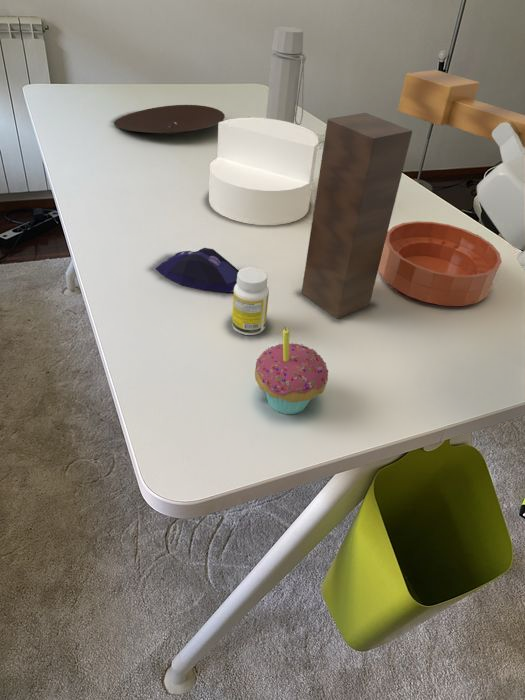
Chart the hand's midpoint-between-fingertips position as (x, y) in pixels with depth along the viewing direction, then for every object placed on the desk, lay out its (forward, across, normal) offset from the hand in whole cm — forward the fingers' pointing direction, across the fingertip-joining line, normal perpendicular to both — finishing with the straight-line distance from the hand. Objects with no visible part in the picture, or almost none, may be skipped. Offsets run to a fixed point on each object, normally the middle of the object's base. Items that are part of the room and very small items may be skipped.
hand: (511, 123), depth 56 cm
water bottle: (+51, -39, +64) cm, 91 cm away
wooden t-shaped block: (+4, 0, +4) cm, 6 cm away
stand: (0, +1, +35) cm, 35 cm away
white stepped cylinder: (+28, -11, +52) cm, 60 cm away
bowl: (-4, -17, +33) cm, 37 cm away
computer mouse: (+14, +14, +44) cm, 48 cm away
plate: (+70, -19, +75) cm, 104 cm away
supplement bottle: (+1, +17, +36) cm, 40 cm away
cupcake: (-12, +22, +29) cm, 38 cm away
